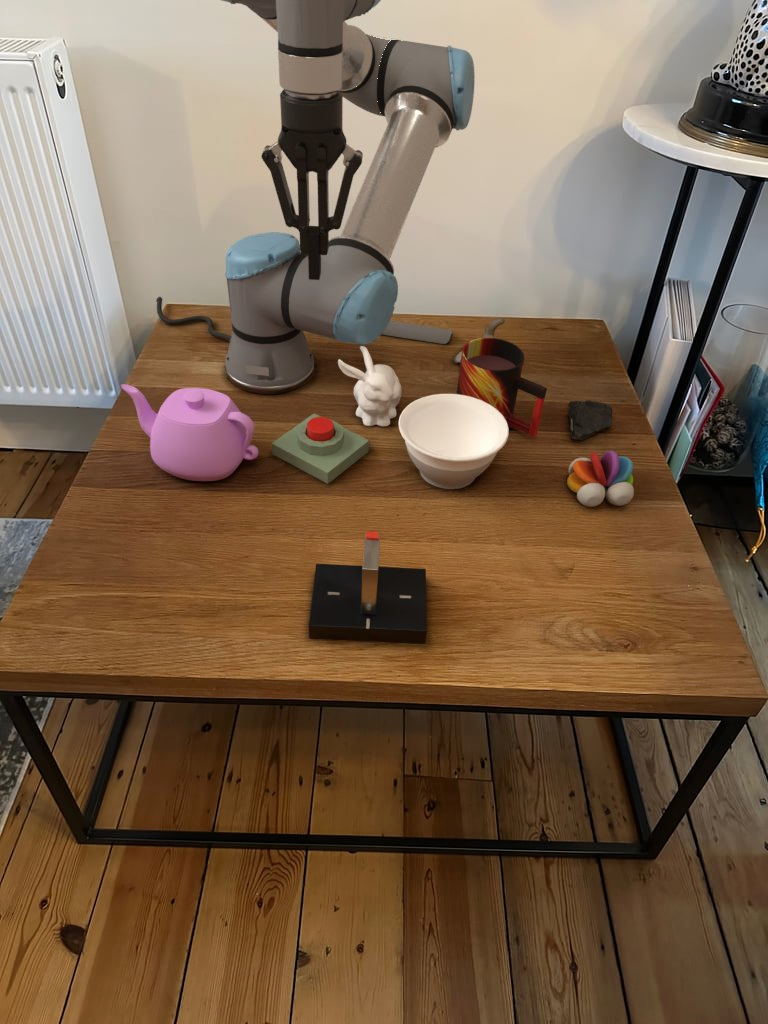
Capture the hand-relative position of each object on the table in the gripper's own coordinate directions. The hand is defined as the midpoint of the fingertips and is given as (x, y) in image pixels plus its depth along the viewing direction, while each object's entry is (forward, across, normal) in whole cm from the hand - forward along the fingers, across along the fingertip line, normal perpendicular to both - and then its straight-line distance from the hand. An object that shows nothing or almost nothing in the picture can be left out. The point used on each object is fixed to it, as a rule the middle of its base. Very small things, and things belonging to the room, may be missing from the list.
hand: (315, 275), depth 108 cm
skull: (+25, -29, -19) cm, 42 cm away
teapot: (+25, +17, +12) cm, 32 cm away
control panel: (+24, -10, +40) cm, 48 cm away
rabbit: (+25, -9, -1) cm, 26 cm away
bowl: (+25, -21, +12) cm, 34 cm away
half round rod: (+25, -13, -28) cm, 40 cm away
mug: (+25, -29, -2) cm, 38 cm away
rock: (+25, -44, -1) cm, 51 cm away
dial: (+22, -10, +40) cm, 47 cm away
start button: (+21, -1, +9) cm, 23 cm away
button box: (+24, -1, +10) cm, 26 cm away
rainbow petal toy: (+25, -43, +15) cm, 52 cm away
